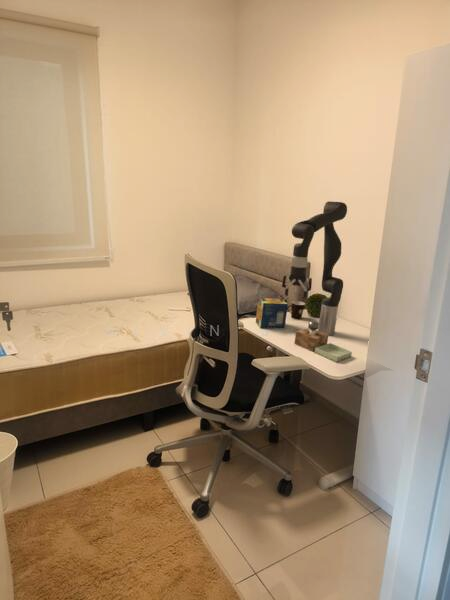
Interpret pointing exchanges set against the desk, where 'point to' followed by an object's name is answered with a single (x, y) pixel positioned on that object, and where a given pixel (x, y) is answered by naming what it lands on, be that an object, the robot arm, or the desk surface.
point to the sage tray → (333, 352)
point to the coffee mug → (296, 309)
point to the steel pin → (313, 327)
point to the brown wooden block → (310, 339)
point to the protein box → (271, 313)
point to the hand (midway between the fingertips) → (295, 297)
